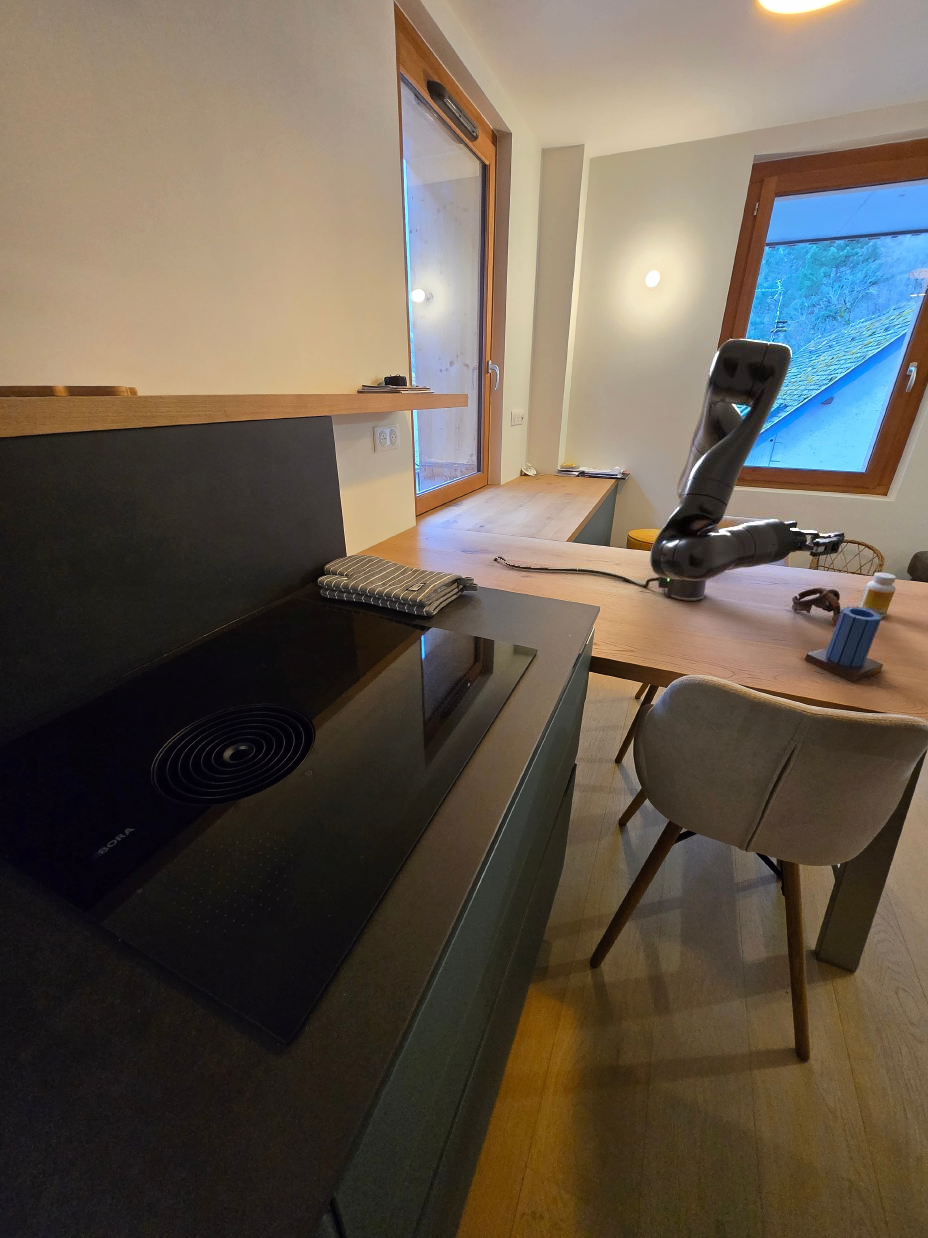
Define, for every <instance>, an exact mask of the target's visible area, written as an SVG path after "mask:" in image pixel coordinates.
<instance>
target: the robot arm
mask: <svg viewBox="0 0 928 1238" xmlns="http://www.w3.org/2000/svg"><path fill="white" fill-rule="evenodd" d="M791 361H792V349H791V348H790V346H788V345H786V344H782V343H776V342H768V341H762V340H753V339H745V338H733V339H728V340H726V341H725V342H724V343H722V344H721V346H720V347H719V348H718V350H717V351H716V353H715V355H714V357H713V359H712V362H711V364H710V367H709V371H708V373H707V379H706V383H705V387H704V388H705V389H704V395H703V400H702V405H701V410H700V413H699V416H698V420H697V422H696V425H695V427H694V431H693V434H692V437H691V441H690V446H689V450H688V455H687V459H686V461H685V464H684V465H683V468H682V469H681V473H680V476H679V477H678V483H677V489H676V492H677V498H678V500H679V503H678V505H677V507H676V508H675V509H674V510H673V512H672V514H671V515H670V516H669V518H668V519H667V520H666V523H665V524H664V526H663V527H662V529H661V530H660V531H659V533H658V535H657V536H656V537H655V539H654V542H653V544H652V546H651V549H650V554H649V562H650V567H651V570H652V571H653V573H654V574H655V575H656V577H650V578H648V579H647V580H645V583H644V584H640V583H639V582H635V581H633V580H632V579H629V578H627V577H625V576H622V575H619V574H616V573H611V572H606V571H602V570H595V569H588V568H587V569H586V568H570V569H548V568H549V567H540V568H531V567H532V566H526V567H520V566H521V565H518V566H515V565H516V564H513V565H510V564H507V563H505V562H503V563H504V564H505V565H506V566H508V567H510V568H513V569H518V570H529V571H541V572H543V571H545V572H570V573H571V572H573V573H574V572H575V573H589V574H595V575H602V576H606V577H611V578H614V579H619V580H622V581H624V582H626V583H629V584H632V585H635V586H638V587H641V588H648V587H649V586H650V583H652V582H657V587H658V588H657V589H665V597H667V598H673V599H676V600H679V601H686V602H696V601H701V600H702V599H704V596H705V591H706V586H707V582H708V581H707V580H709V579H713V578H716V577H718V576H719V575H721V574H723V573H725V572H727V571H732V570H737V569H741V568H743V569H746V568H753V567H758V566H762V565H767V564H772V563H773V564H774V563H777V562H781V561H782V560H784V559H785V558H787V557H788V556H789V555H790V554H791V553H796V552H807V553H808V552H809V557H812V558H816V557H822V556H828V555H833V554H838V553H839V550H840V549H841V545H843V544H844V541H845V537H846V535H845V532H842V531H836V532H831V533H819V532H818V531H816V530H807V529H806V530H805V529H804V530H803V529H800V528H797V527H798V521H794V520H791V521H782V520H780V519H776V518H770V519H764V520H758V521H752V522H746V523H741V524H738V525H735V526H731V527H725V528H720V529H719V524H720V523H721V522H722V520H723V519H724V516H725V514H726V511H727V509H728V507H729V503H730V501H731V497H732V495H733V492H734V490H735V486H736V483H737V481H738V479H739V477H740V474H741V472H742V470H743V467H744V465H745V463H746V461H747V459H748V457H749V455H750V454H751V452H752V449H753V448H754V446H755V444H756V442H757V440H758V438H759V436H760V434H761V432H762V430H763V428H764V426H765V424H766V422H767V420H768V418H769V415H770V414H771V412H772V410H773V408H774V405H775V403H776V400H777V398H778V397H779V394H780V392H781V391H782V388H783V385H784V383H785V380H786V379H787V376H788V372H789V369H790V365H791ZM737 406H742V407H744V406H745V407H749V409H748V411H747V412H746V414H745V416H743V415H742V414H741V412H740V410H739V409H738V408H737ZM807 536H810V538H809V541H808V537H807ZM497 557H498V558H500V559H497V558H496V557H495V558H493V561H495V562H496V561H498V560H501V559H502V560H504V561H507V560H506V559H505V558H504V557H503V556H497ZM502 560H501V561H502ZM577 569H578V570H577ZM657 576H658V577H657Z"/></svg>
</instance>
